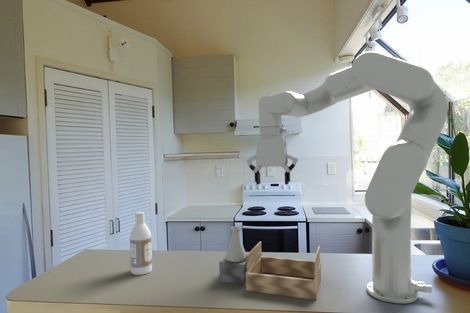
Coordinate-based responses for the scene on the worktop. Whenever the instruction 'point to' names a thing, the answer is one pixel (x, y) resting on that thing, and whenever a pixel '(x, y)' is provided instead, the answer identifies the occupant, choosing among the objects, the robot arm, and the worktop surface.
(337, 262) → the worktop surface
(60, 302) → the worktop surface
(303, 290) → the wooden box
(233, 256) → the flask
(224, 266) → the stand
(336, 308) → the worktop surface
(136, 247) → the bath foam
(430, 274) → the worktop surface
